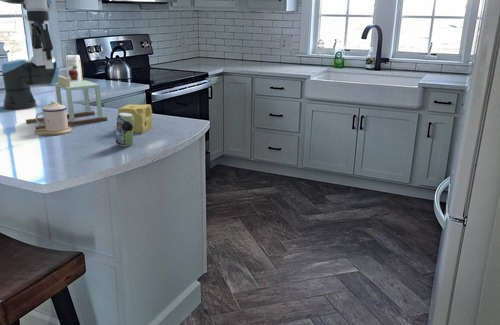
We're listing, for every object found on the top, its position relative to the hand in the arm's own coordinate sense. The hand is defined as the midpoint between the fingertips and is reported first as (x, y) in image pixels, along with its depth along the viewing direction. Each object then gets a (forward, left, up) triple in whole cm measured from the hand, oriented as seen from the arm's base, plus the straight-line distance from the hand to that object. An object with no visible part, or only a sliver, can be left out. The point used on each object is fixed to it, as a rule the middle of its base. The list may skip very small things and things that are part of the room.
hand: (44, 67), depth 187 cm
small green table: (-15, +16, -25) cm, 33 cm away
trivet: (0, 0, -26) cm, 26 cm away
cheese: (+18, +28, -26) cm, 43 cm away
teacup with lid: (0, 0, -26) cm, 26 cm away
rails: (-15, +10, -26) cm, 32 cm away
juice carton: (-126, +50, -26) cm, 138 cm away
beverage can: (+38, +15, -26) cm, 49 cm away
